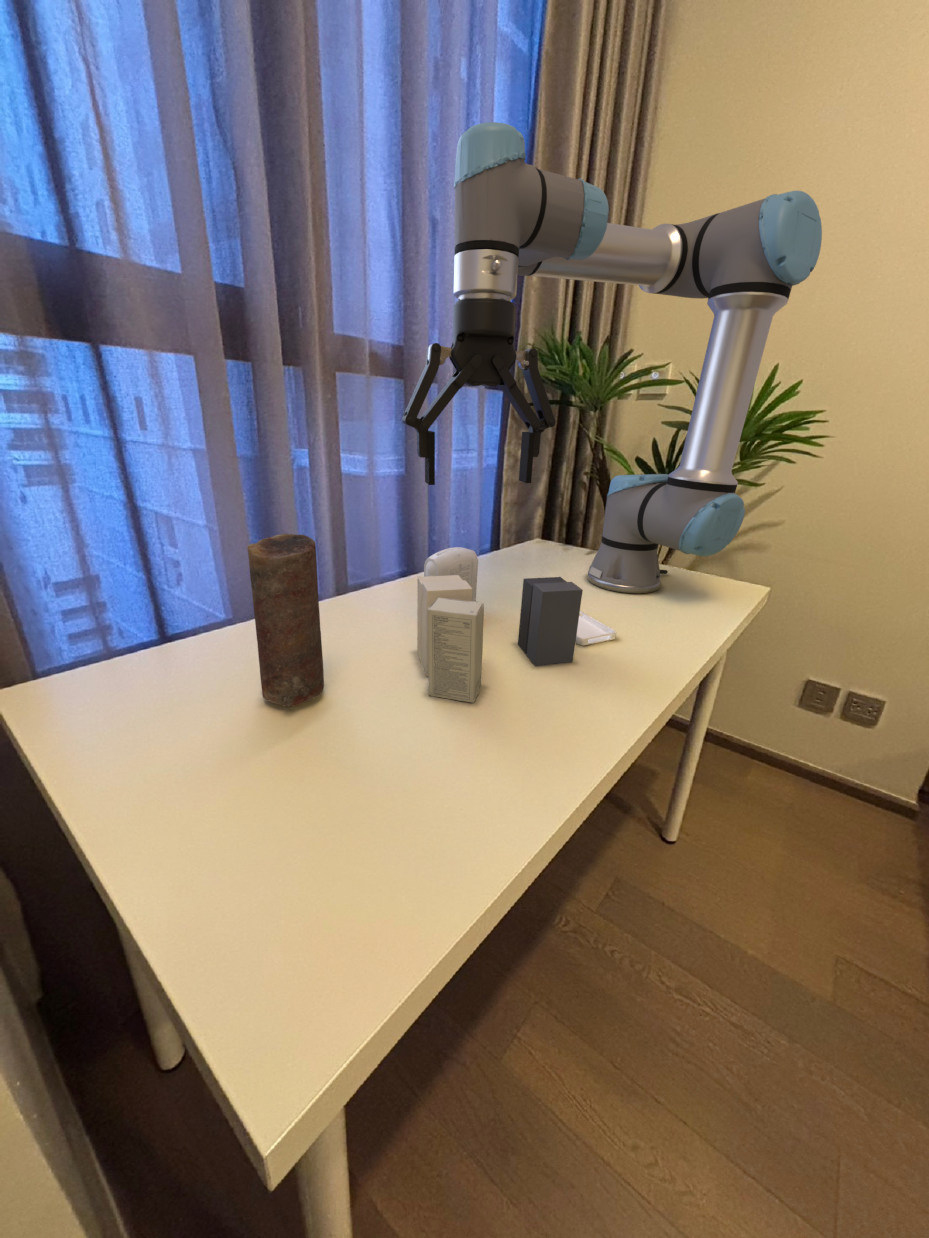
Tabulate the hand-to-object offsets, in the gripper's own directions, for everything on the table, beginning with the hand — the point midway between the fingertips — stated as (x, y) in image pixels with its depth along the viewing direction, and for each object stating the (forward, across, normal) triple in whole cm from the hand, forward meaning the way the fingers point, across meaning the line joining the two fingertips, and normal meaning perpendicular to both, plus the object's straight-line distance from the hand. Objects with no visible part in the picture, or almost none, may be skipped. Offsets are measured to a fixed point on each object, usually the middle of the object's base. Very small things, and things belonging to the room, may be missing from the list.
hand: (478, 482), depth 69 cm
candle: (+24, -26, -10) cm, 37 cm away
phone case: (+25, +19, +4) cm, 32 cm away
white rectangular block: (+25, -6, -5) cm, 26 cm away
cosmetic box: (+25, -6, -13) cm, 29 cm away
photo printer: (+25, -1, +12) cm, 28 cm away
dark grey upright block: (+25, +10, -5) cm, 27 cm away
